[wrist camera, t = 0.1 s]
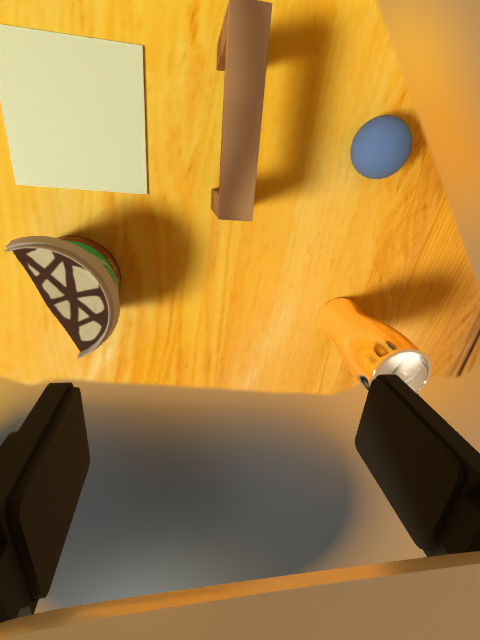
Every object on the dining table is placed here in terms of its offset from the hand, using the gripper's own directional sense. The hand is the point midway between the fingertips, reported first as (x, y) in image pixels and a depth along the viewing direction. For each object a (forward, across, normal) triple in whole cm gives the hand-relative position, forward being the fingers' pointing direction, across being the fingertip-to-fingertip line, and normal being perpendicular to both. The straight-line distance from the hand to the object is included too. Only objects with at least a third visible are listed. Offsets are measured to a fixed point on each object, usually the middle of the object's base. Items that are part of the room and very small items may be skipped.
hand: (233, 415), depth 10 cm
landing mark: (+31, +12, -11) cm, 35 cm away
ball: (+28, -19, -11) cm, 36 cm away
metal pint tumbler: (+31, -20, +10) cm, 38 cm away
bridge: (+31, -3, -11) cm, 33 cm away
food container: (+31, +11, +4) cm, 34 cm away
